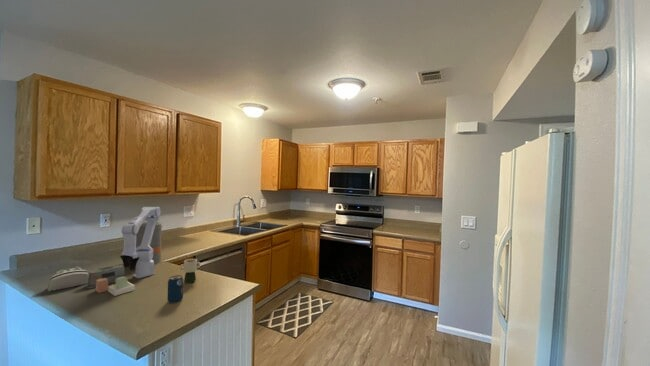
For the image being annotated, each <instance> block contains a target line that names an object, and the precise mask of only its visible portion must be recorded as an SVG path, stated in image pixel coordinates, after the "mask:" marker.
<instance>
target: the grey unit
mask: <svg viewBox="0 0 650 366" xmlns="http://www.w3.org/2000/svg"><path fill="white" fill-rule="evenodd" d="M125 270H126V267H124V264H120V265H115V266H114V265H108V266H104V267H98V268H97V269H96V270H91V271H87V272H88V283H87V284H84V287H86V288H88V289H92V288H96V280H98V279H103V278H106V279H108V284H112V283H116V278H119V277H124V276H125Z"/></svg>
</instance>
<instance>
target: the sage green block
mask: <svg viewBox="0 0 650 366" xmlns="http://www.w3.org/2000/svg"><path fill="white" fill-rule="evenodd" d="M127 281H128V277H127V276H125V275H124V277H119V278H116V282H114V283H115V284H114V285H115V289H116V290H117V289H121V288H125V287H127Z"/></svg>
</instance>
